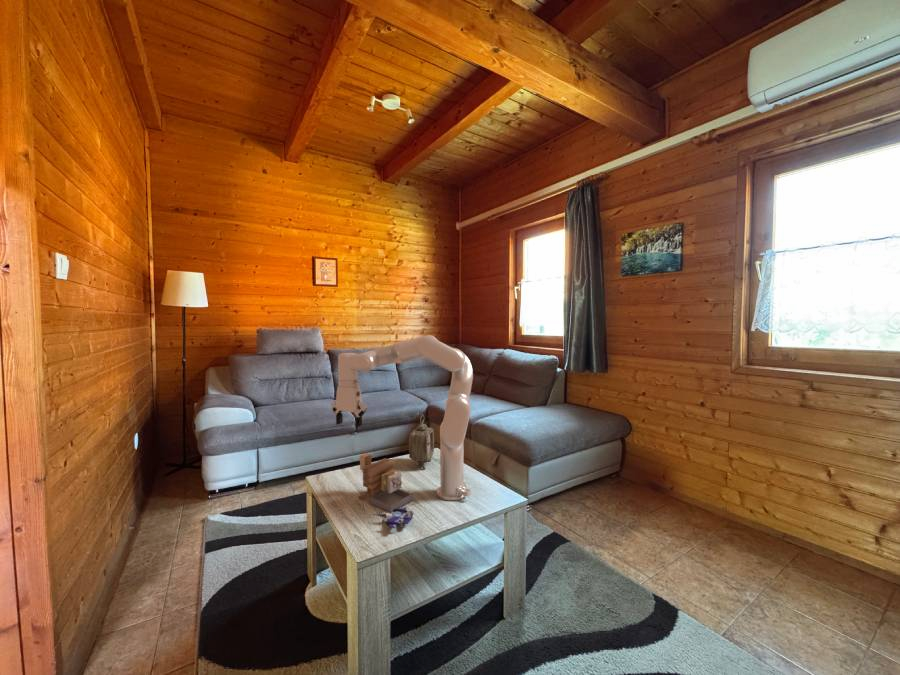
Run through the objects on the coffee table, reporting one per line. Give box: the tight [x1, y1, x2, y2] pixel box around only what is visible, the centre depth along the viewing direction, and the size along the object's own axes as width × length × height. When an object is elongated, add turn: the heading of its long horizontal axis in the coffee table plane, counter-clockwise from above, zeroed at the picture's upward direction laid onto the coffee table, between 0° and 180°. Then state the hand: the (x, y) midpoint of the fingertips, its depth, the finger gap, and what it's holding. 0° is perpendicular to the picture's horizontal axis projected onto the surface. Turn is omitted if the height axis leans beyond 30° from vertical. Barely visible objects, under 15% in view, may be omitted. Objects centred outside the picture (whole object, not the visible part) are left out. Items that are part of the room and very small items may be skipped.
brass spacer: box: [381, 469, 396, 491], centre depth 144 cm, size 1×6×6 cm, turn 143°
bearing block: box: [357, 457, 395, 504], centre depth 148 cm, size 8×12×14 cm
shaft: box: [359, 452, 403, 486], centre depth 146 cm, size 22×4×8 cm, turn 53°
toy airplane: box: [371, 506, 414, 529], centre depth 128 cm, size 13×14×4 cm
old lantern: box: [408, 414, 435, 470], centre depth 180 cm, size 14×9×25 cm, turn 168°
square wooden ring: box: [387, 471, 402, 493], centre depth 142 cm, size 1×6×6 cm, turn 143°
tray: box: [369, 488, 414, 514], centre depth 143 cm, size 12×12×2 cm
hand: (348, 425), depth 148 cm, fingers open, 9 cm apart
